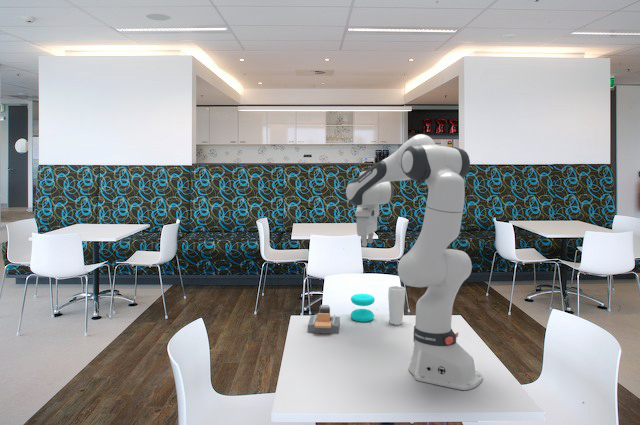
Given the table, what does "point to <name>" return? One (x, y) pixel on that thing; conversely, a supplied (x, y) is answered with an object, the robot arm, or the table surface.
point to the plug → (324, 309)
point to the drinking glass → (396, 304)
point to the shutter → (323, 321)
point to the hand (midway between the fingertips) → (367, 244)
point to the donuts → (362, 314)
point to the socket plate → (333, 328)
